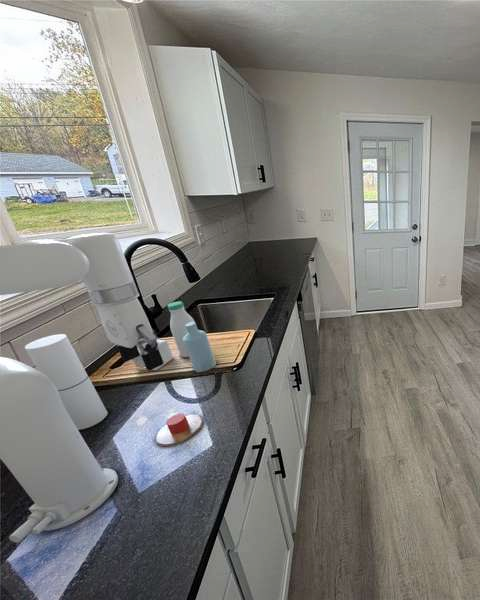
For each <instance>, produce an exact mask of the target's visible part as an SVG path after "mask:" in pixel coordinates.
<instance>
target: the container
mask: <svg viewBox="0 0 480 600" xmlns="http://www.w3.org/2000/svg"><path fill="white" fill-rule="evenodd" d="M152 331H153V334H154V335H155V336H156V341H157V343H158V347H159V352H160V355H161V357H162V360H163V362H164V363H163V364H162V365H160V366H158V367H156V368H154V369H152V370H151V371H158V370H159V369H160V368H162V367H163V366H164V365H166V364H167V363H169V362H171V361H172V360H173V359H174V355H173V353H172V351H171V349H170V346H169V343H168V340H166V339H159V337H158V335H157V333H156V330H155V329H153V328H152ZM143 339H145V338H143ZM143 339H140V340H138V341H141V340H143ZM146 344H148V343H145V344H142V346H143V347H144V348H145V346H146ZM137 349H138V347H137ZM138 351H139V354H140V356H138V357H136V358H134V359H132V361H133V363H134V365H135V368H136V367H146V366H145V364H144V362H143V359H142V357H141V355H142V352H141V351H140V350H139V349H138ZM166 360H167V361H166ZM136 370H140V371H141V370H142V371H148V370H147V369H146V368H136Z"/></svg>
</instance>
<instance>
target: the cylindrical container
mask: <svg viewBox="0 0 480 600" xmlns="http://www.w3.org/2000/svg"><path fill="white" fill-rule="evenodd" d="M73 347H74V346H73V345H72V344H71V342H70V340H69V338H68V336H67V335H66V334H65V333H58V334H51V335H47V336H44V337H40V338H38V339H35V340H33V341H31V342H29V343H27V344H25V346H24V349H25V350H26V352H27V354H28V357H30V359H31V360H32V362H33V364H34V366H35V368H36V370H38V371H40V372H41V373H43V374H44V375H46V376H47V377H48V378H49V379H50V380H51V381H52V382H53V383H54V385H55V386H56V388H57V390H58V392H59V395H60V397H61V400H62V402H63V405H64V407H65V409H66V411H67V413H68V414H69V416H70V418H71V419H72V421H73V423H74V425H75V426H76V428H77V429H78V431H79V430H85V429H88V428H91V427H93V426H95V425H97V424H99V423H101V422H102V421H103V420H104V419H105V418H106V417H107V416H108V413H109V412H108V410H107V409H106V407H105V405H104V403H103V400H102V398H100V396H99V394H98V392H97V390H96V387H94V384H93V383H92V381H91V379H90V377H89V375H88V373H87V372H86V369H85V368H84V366H83V364H82V362H81V360H80V359H79V356H78V354H77V353H76V350H75V349H74V348H73Z"/></svg>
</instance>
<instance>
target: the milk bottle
mask: <svg viewBox="0 0 480 600" xmlns="http://www.w3.org/2000/svg"><path fill="white" fill-rule="evenodd" d="M167 309H168V312H170V319H169V320H170V321H169V328H170V332H171V335H172V337H173V340H174V342H175V345H176V347H177V350H178V353H179V355H180V357H182V358H190V357H189V354H188V352H187V349H186V346H185V344H184V341H183V338H184V336H185V335H186V334H187V333H188V331H187V329H186V327H185V325H186V324H187V323H190V322H195V320H194V318H193V317H192V316H191V315H190V314H189V313H188V312H187V311H186V309H185V304H184V302H183V301H173V302H171V303H168V304H167ZM195 323H196V322H195Z"/></svg>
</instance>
